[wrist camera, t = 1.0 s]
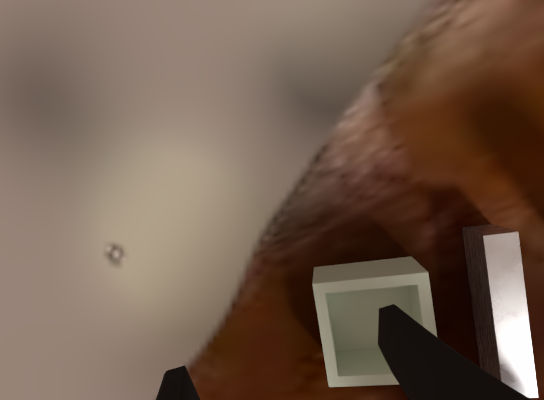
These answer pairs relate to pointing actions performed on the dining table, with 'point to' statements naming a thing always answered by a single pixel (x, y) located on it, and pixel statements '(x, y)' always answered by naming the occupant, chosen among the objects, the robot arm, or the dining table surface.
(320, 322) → the socket block
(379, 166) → the dining table surface
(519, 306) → the rail
